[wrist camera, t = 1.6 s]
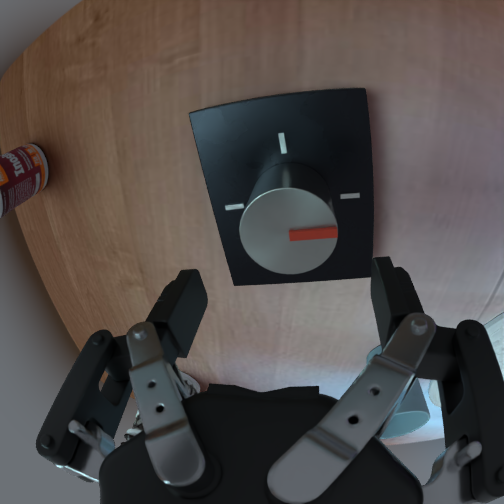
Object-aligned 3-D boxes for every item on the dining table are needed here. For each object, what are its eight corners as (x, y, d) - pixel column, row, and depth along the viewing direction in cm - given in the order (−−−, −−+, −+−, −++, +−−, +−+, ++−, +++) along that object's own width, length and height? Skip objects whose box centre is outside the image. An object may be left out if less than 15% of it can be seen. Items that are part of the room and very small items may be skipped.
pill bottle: (53, 151, 24) (-24, 195, 15) (48, 198, 27) (-17, 247, 18) (22, 135, 23) (-49, 171, 14) (19, 179, 26) (-43, 221, 17)
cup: (411, 328, 29) (430, 404, 21) (417, 361, 32) (430, 427, 24) (352, 347, 32) (357, 424, 24) (365, 376, 35) (370, 443, 27)
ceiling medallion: (486, 294, 25) (497, 312, 22) (577, 299, 22) (584, 311, 19) (401, 410, 40) (403, 425, 38) (501, 396, 37) (505, 407, 35)
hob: (201, 109, 20) (187, 113, 18) (357, 87, 18) (366, 88, 15) (240, 266, 28) (233, 287, 25) (365, 257, 25) (371, 278, 23)
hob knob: (260, 237, 22) (248, 280, 18) (245, 167, 19) (228, 196, 15) (333, 231, 21) (339, 274, 17) (327, 158, 18) (335, 185, 14)
